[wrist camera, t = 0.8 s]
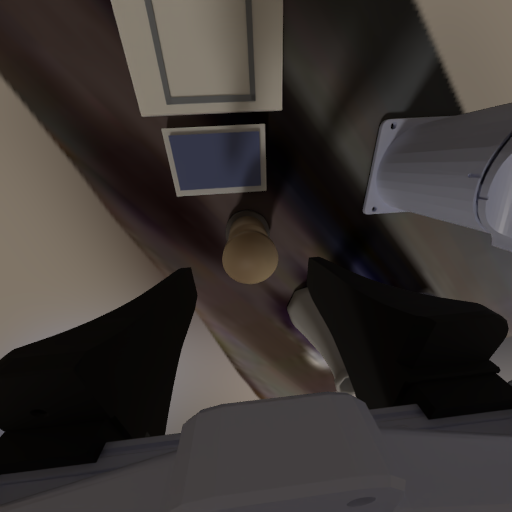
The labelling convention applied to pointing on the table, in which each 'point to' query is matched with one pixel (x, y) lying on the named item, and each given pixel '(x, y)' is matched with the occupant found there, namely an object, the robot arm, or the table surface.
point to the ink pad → (217, 159)
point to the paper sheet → (203, 54)
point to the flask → (318, 336)
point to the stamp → (249, 248)
